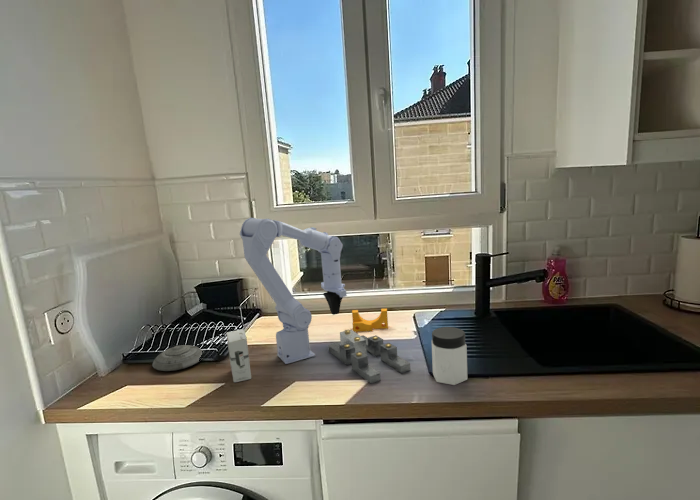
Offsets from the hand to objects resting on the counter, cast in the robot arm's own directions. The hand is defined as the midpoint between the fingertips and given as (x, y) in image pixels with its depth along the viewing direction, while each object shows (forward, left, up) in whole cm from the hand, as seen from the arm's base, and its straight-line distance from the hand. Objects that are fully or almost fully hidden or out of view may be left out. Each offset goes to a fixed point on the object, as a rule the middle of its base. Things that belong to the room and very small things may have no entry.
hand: (335, 313), depth 135 cm
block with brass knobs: (0, -11, -9) cm, 14 cm away
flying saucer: (-47, +14, -9) cm, 50 cm away
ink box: (-33, -6, -9) cm, 35 cm away
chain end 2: (0, -27, -9) cm, 28 cm away
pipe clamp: (+14, +1, -9) cm, 17 cm away
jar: (+12, -41, -9) cm, 43 cm away
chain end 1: (0, -13, -9) cm, 15 cm away
